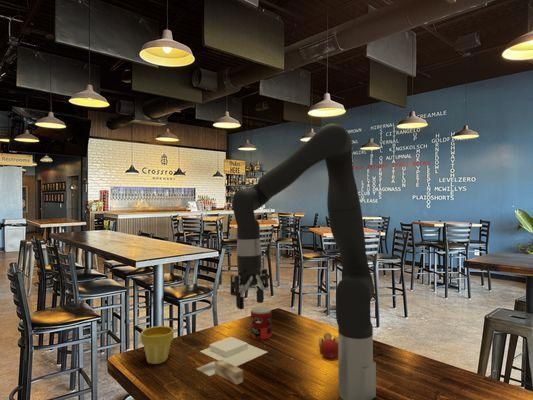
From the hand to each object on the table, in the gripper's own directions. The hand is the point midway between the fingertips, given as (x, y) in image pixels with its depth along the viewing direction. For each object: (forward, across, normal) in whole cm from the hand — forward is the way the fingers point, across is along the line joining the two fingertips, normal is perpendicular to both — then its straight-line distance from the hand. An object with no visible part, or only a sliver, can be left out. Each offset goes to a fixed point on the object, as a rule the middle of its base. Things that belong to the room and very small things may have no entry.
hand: (250, 305), depth 112 cm
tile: (+19, +6, +14) cm, 25 cm away
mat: (+21, +6, +16) cm, 27 cm away
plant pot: (+20, -14, +31) cm, 40 cm away
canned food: (+21, +24, +18) cm, 36 cm away
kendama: (+22, +31, -8) cm, 39 cm away
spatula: (+21, -7, +7) cm, 23 cm away
